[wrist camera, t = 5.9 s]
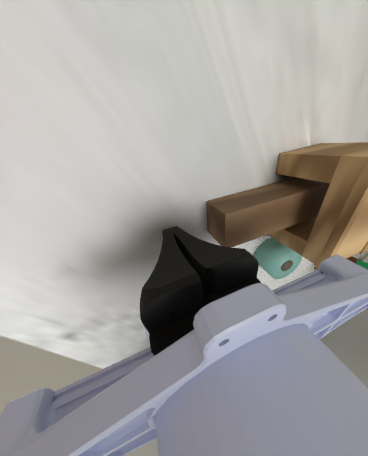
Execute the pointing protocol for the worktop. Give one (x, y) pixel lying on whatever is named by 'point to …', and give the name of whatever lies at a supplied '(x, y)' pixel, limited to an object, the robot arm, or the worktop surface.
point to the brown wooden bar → (264, 210)
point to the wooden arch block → (330, 200)
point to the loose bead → (277, 258)
